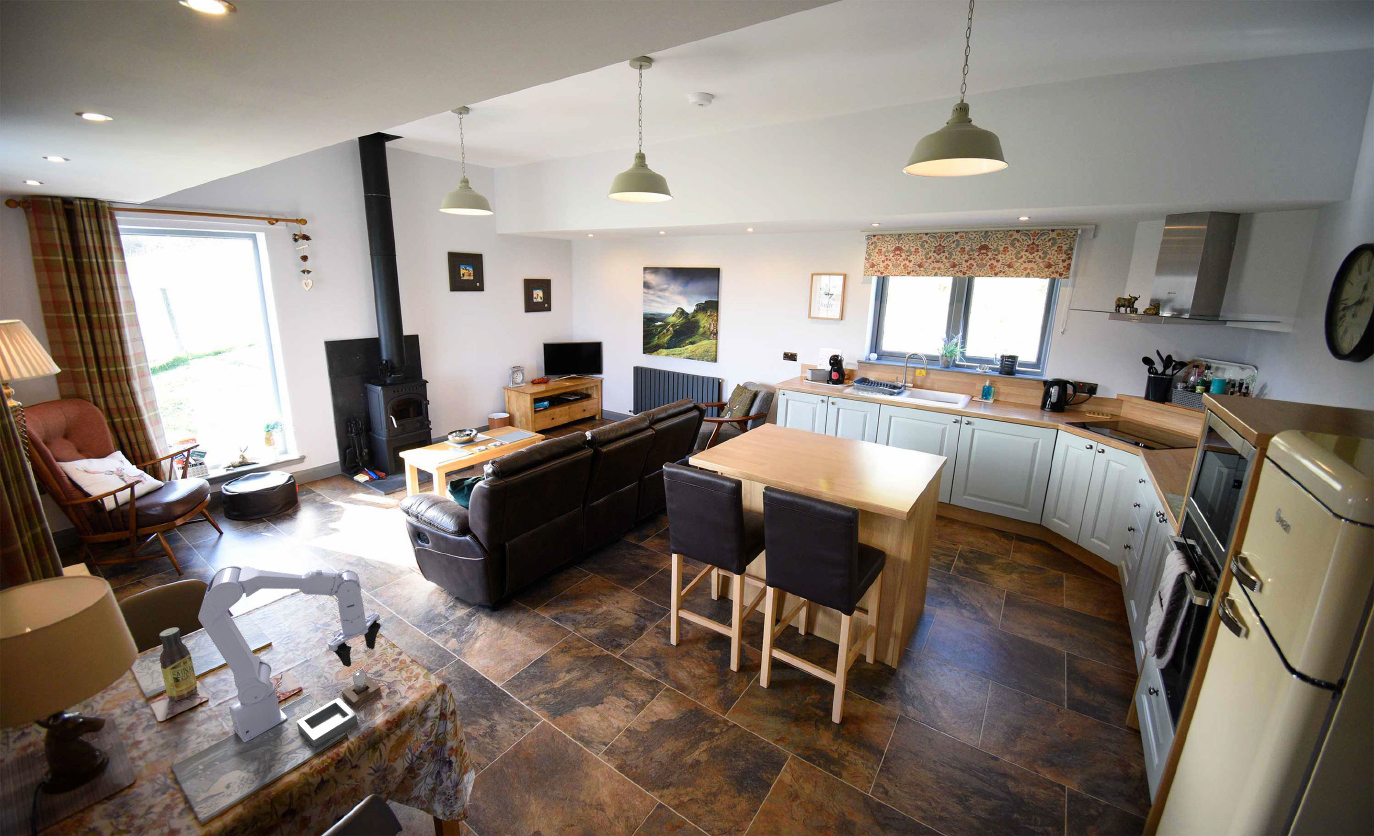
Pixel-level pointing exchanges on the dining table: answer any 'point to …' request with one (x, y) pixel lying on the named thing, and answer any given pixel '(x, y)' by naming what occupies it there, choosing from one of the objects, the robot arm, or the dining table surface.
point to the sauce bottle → (176, 666)
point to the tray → (327, 723)
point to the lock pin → (359, 682)
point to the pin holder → (363, 697)
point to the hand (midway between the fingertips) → (359, 656)
